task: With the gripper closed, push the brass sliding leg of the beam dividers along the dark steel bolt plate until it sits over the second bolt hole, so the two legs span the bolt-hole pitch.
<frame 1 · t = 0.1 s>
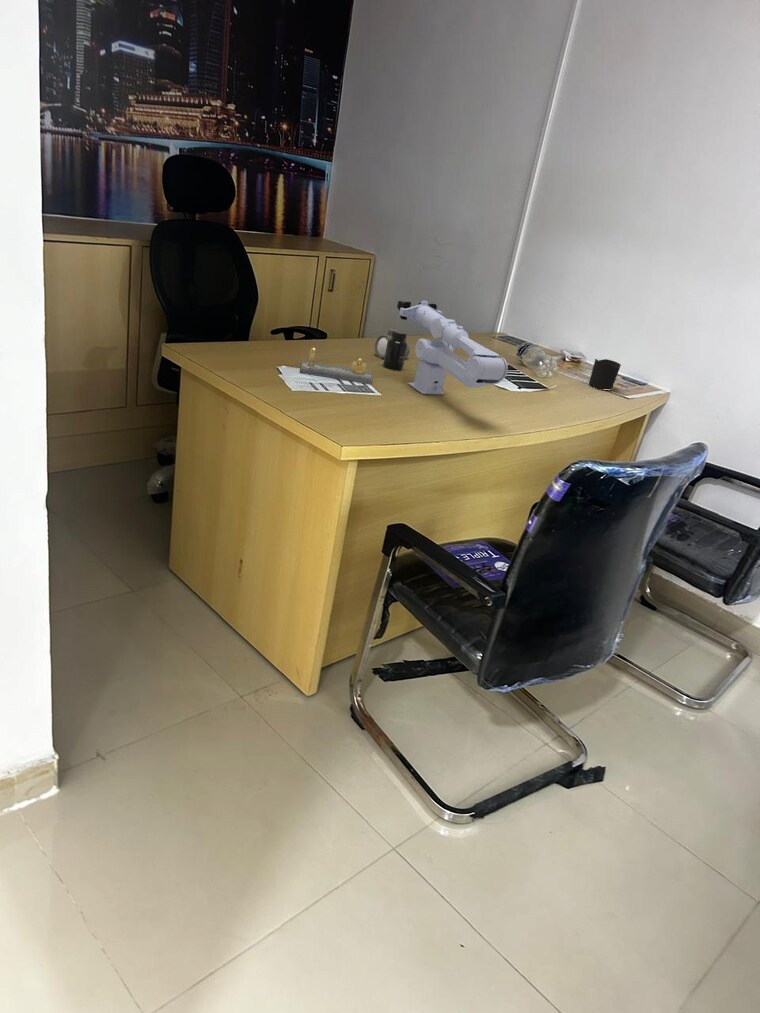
hand: (408, 304, 232), 22 cm above the table, fingers open, 7 cm apart
bolt plate: (336, 374, 223), on the table
pipe fitting: (392, 358, 256), on the table
sliding leg: (359, 366, 221), point 4 cm above the table, slide at 0.0 cm
pen holder: (599, 388, 273), on the table
supplement bottle: (392, 367, 244), on the table
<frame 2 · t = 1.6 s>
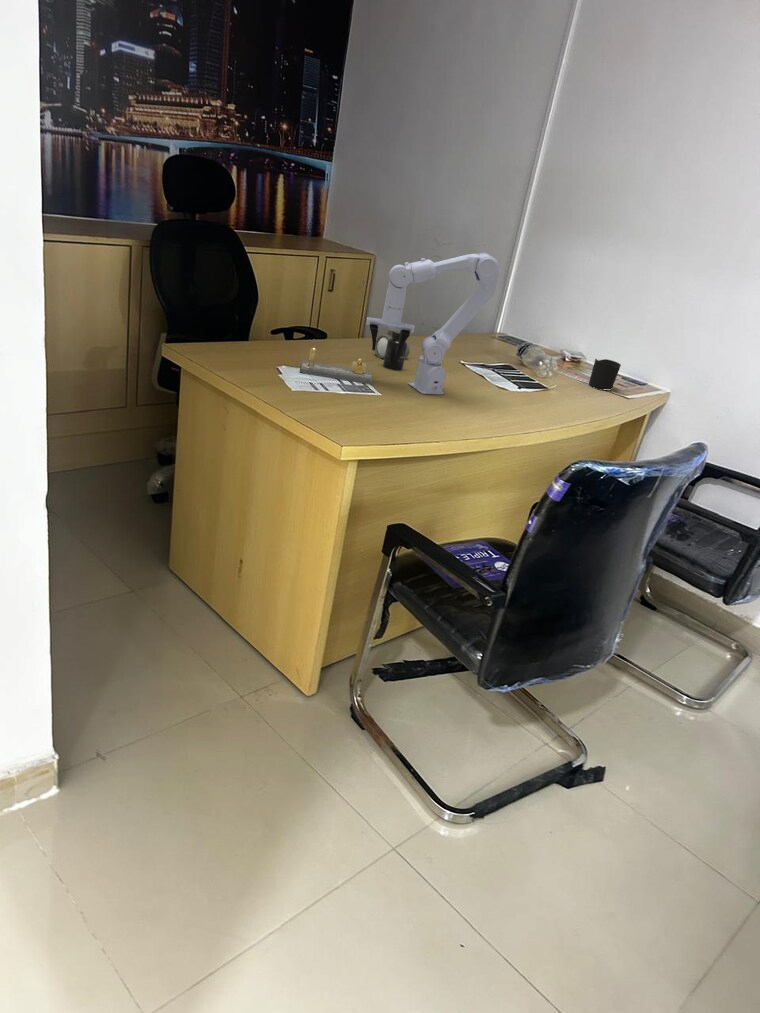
hand: (385, 351, 221), 9 cm above the table, fingers open, 7 cm apart
nothing on the table moved.
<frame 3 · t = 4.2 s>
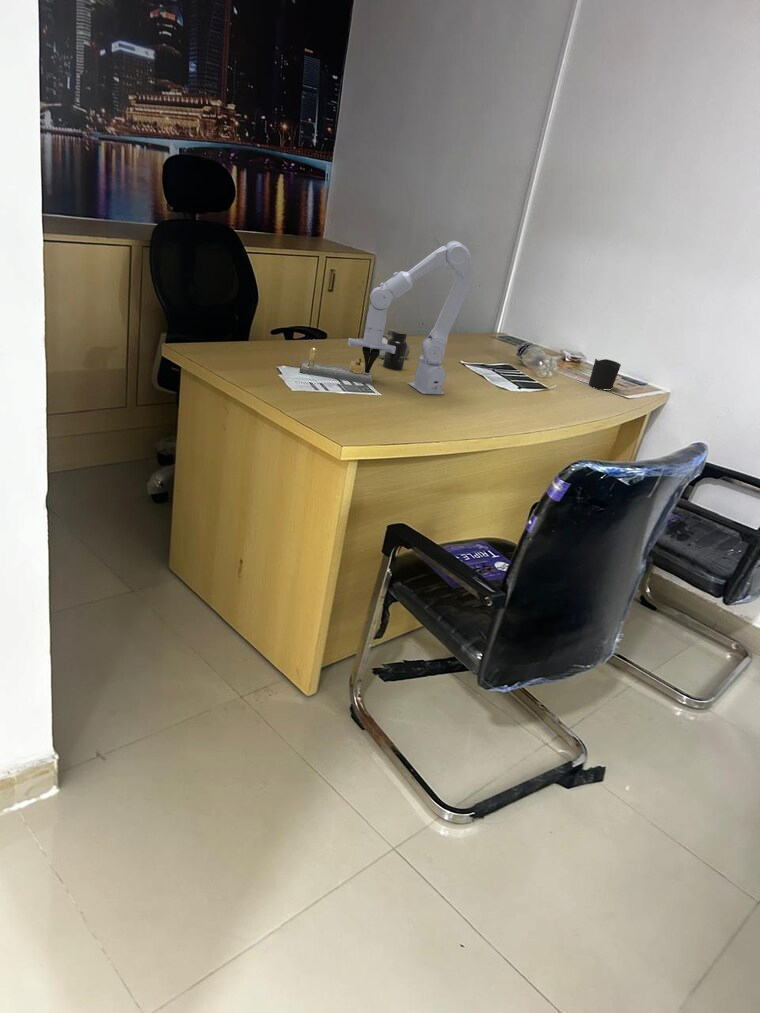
hand: (367, 372, 224), 2 cm above the table, fingers closed
sliding leg: (357, 366, 221), point 4 cm above the table, slide at 0.5 cm, touching gripper
everything else where it was.
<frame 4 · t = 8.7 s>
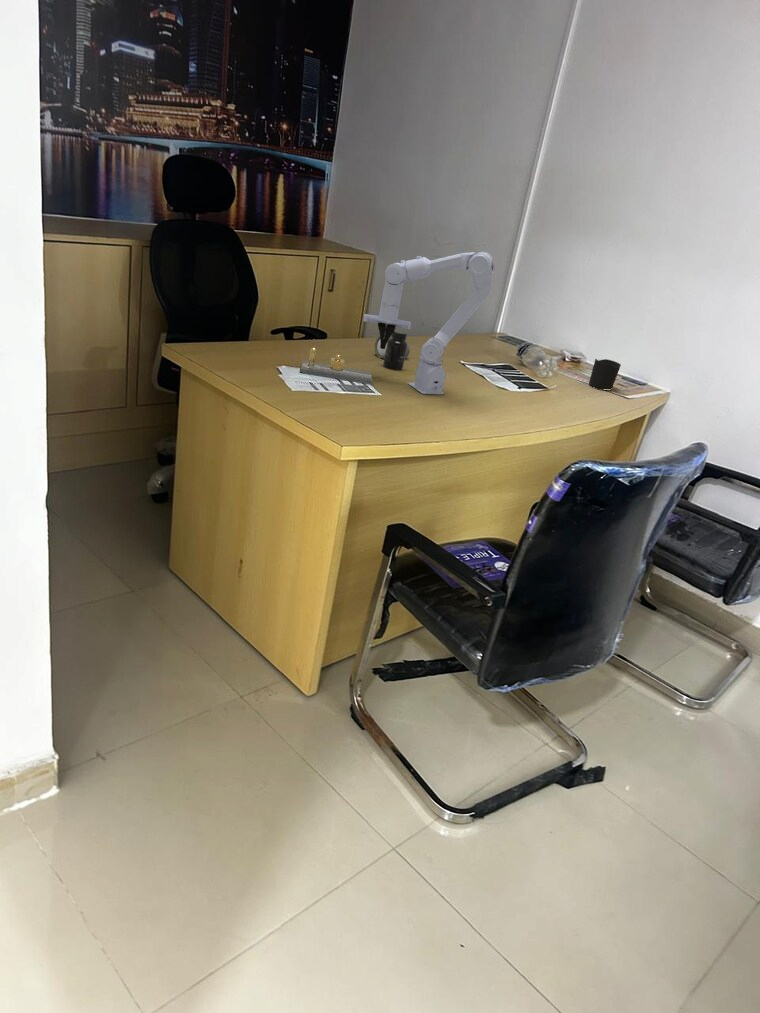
hand: (382, 348, 225), 9 cm above the table, fingers closed
sliding leg: (337, 363, 221), point 4 cm above the table, slide at 6.8 cm
everything else where it was.
at the end: sliding leg slide at 6.8 cm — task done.
